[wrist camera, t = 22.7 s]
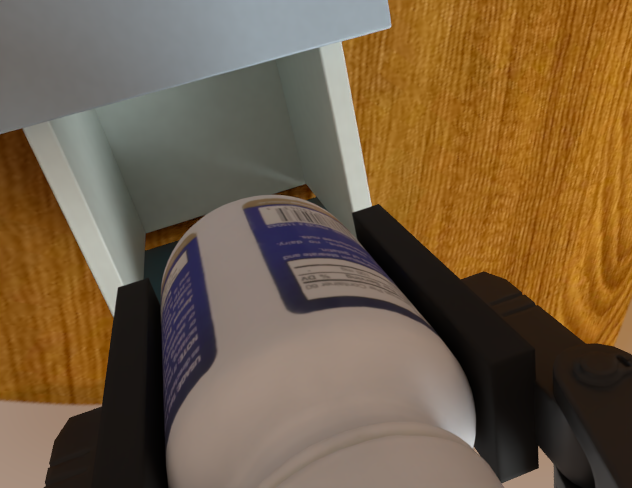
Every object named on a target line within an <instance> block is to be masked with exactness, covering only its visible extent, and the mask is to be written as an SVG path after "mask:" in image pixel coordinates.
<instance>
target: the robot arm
mask: <svg viewBox="0 0 632 488" xmlns="http://www.w3.org/2000/svg"><path fill="white" fill-rule="evenodd" d="M352 217H353V222H354V226H355V231H356V236H357V240H358V242H359V243H360V244H361V245H362V246H363V248H364V249H365V250H366V251H367V252H368V253H369V254H370V255H371V257H372V258H373V259H374V260H375V262H376V263H377V264H378V265H379V266H380V267H381V268H382V270H383V271H384V272H385V273H386V274H387V275H388V276H389V278H390V279H391V280H392V281H393V282H394V283H395V284H396V286H397V287H398V288H399V289H400V291H401V292H402V293H403V294H404V295H405V296H406V298H407V299H408V300H409V301H410V302H411V303H412V304H413V306H414V307H415V308H416V309H417V311H418V312H419V313H420V314H421V315H422V316H423V317H424V319H425V320H426V321H427V322H428V323H429V324H430V326H431V327H432V328H433V329H434V330H435V331H436V333H437V334H438V335H439V336H440V338H441V339H442V340H443V342H444V343H445V344H446V346H447V347H448V348H449V350H450V351H451V353H452V354H453V355H454V357H455V358H456V359H457V361H458V362H459V364H460V365H461V367H462V369H463V371H464V373H465V375H466V377H467V379H468V382H469V385H470V387H471V390H472V394H473V398H474V403H475V411H476V436H475V442H474V447H475V449H476V450H477V452H478V453H479V454H480V456H481V457H482V458H483V459H484V460H485V461H486V462H487V463H488V464H489V466H490V467H491V469H492V470H493V471H494V473H495V474H496V476H497V477H498V479H499V481H500V482H501V483H504V482H506V481H508V480H511V479H513V478H516V477H518V476H521V475H523V474H525V473H528V472H530V471H533V470H535V469H538V468H539V464H538V446H539V447H540V448H541V449H542V450H543V452H544V453H545V454H546V455H547V456H548V458H549V459H550V460H551V461H552V462H553V463H554V488H632V355H631V354H629V353H627V352H625V351H623V350H620V349H618V348H616V347H613V346H607V345H602V344H585V343H584V342H583V341H582V340H580V339H579V338H578V337H577V336H576V335H574V334H573V333H572V332H571V331H569V330H568V329H567V328H566V327H564V326H563V325H562V324H561V323H559V322H558V321H557V320H556V319H554V318H553V317H552V316H551V315H549V314H548V313H547V312H546V311H544V310H543V309H542V308H541V307H539V306H538V305H537V306H536V305H535V303H534V302H533V301H532V300H531V299H530V298H528V297H527V296H526V295H522V292H521V291H520V290H518V289H517V288H516V287H515V286H513V285H512V284H511V283H510V282H508V281H507V280H506V279H503V278H500V277H498V276H495V275H492V274H489V273H487V272H481V273H478V274H475V275H472V276H469V277H467V278H464V279H461V280H460V279H459V278H458V277H457V276H456V275H455V274H454V273H453V272H452V271H450V270H449V269H448V268H447V267H446V266H445V265H444V264H443V263H442V262H441V261H440V260H439V259H438V258H436V257H435V256H434V255H433V254H432V253H431V252H430V251H429V250H428V249H427V248H426V247H425V246H423V245H422V244H421V243H420V242H419V241H418V240H417V239H416V238H415V237H414V236H413V235H412V234H411V233H409V232H408V231H407V230H406V229H405V228H404V227H403V226H402V225H401V224H400V223H399V222H398V221H396V220H395V219H394V218H393V217H392V216H391V215H390V214H389V213H388V212H387V211H386V210H385V209H383V208H382V207H381V206H380V205H379V204H378V205H375V206H371V207H368V208H365V209H362V210H359V211H356V212H353V213H352ZM160 311H161V306H160V303H159V301H158V299H157V296H156V294H155V292H154V289H153V287H152V285H151V282H150V280H149V278H146V279H143V280H140V281H136V282H133V283H130V284H127V285H124V286H121V287H118V290H117V297H116V305H115V312H114V320H113V327H112V335H111V342H110V350H109V357H108V365H107V372H106V380H105V388H104V395H103V403H102V407H99V408H96V409H93V410H91V411H88V412H85V413H82V414H79V415H76V416H74V417H71V418H69V420H68V421H67V423H66V424H65V426H64V427H63V429H62V430H61V432H60V433H59V435H58V436H57V438H56V439H55V441H54V445H53V449H52V454H51V458H50V462H49V464H50V468H48V471H47V475H46V480H45V484H46V487H44V488H168V479H167V470H166V457H165V429H164V402H163V370H162V335H161V314H160Z"/></svg>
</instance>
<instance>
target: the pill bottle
mask: <svg viewBox="0 0 632 488" xmlns="http://www.w3.org/2000/svg"><path fill="white" fill-rule="evenodd" d="M160 314H161V335H162V370H163V402H164V429H165V457H166V470H167V479H168V488H504V487H503V485H502V484H501V482H500V481H499V479H498V477H497V476H496V474H495V473H494V471H493V470H492V469H491V467H490V466H489V464H488V463H487V462H486V461H485V460H484V459H483V458H482V457H481V456H479V455H478V454H477V453H476V452H475V451H474V450H473V447H474V442H475V436H476V411H475V403H474V398H473V394H472V390H471V387H470V385H469V382H468V379H467V377H466V375H465V373H464V371H463V369H462V367H461V365H460V364H459V362H458V361H457V359H456V358H455V357H454V355H453V354H452V353H451V351H450V350H449V348H448V347H447V346H446V344H445V343H444V342H443V340H442V339H441V338H440V336H439V335H438V334H437V333H436V331H435V330H434V329H433V328H432V327H431V326H430V324H429V323H428V322H427V321H426V320H425V319H424V317H423V316H422V315H421V314H420V313H419V312H418V311H417V309H416V308H415V307H414V306H413V304H412V303H411V302H410V301H409V300H408V299H407V298H406V296H405V295H404V294H403V293H402V292H401V291H400V289H399V288H398V287H397V286H396V284H395V283H394V282H393V281H392V280H391V279H390V278H389V276H388V275H387V274H386V273H385V272H384V271H383V270H382V268H381V267H380V266H379V265H378V264H377V263H376V262H375V260H374V259H373V258H372V257H371V255H370V254H369V253H368V252H367V251H366V250H365V249H364V248H363V246H362V245H361V244H360V243H359V242H358V240H357V239H356V238H355V237H354V236H353V235H352V234H351V233H350V231H349V230H348V229H347V228H346V227H345V226H344V225H343V224H342V223H341V222H340V221H339V220H338V219H337V218H336V217H334V216H333V215H332V214H330V213H329V212H328V211H326V210H325V209H323V208H321V207H319V206H318V205H316V204H313V203H311V202H309V201H306V200H303V199H300V198H296V197H291V196H285V195H259V196H253V197H248V198H244V199H240V200H237V201H234V202H231V203H228V204H226V205H223V206H221V207H219V208H217V209H215V210H213V211H211V212H210V213H208V214H207V215H205V216H204V217H203V218H201V219H200V220H199V221H197V222H196V223H195V224H194V225H193V226H192V227H191V228H190V229H189V230H188V231H187V232H186V233H185V234H184V235H183V237H182V238H181V239H180V241H179V242H178V243H177V245H176V247H175V248H174V250H173V252H172V253H171V256H170V258H169V260H168V262H167V265H166V267H165V270H164V274H163V278H162V284H161V311H160Z"/></svg>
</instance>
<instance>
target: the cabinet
mask: <svg viewBox="0 0 632 488" xmlns="http://www.w3.org/2000/svg"><path fill="white" fill-rule="evenodd" d="M390 27H391V20H390V13H389V6H388V0H0V134H3V133H7V132H10V131H14V130H18V129H21V128H25V127H29V126H32V125H36V124H40V123H43V122H47V121H51V120H54V119H58V118H62V117H65V116H69V115H73V114H76V113H80V112H84V111H87V110H91V109H95V108H98V107H102V106H106V105H109V104H113V103H117V102H120V101H124V100H128V99H131V98H135V97H139V96H143V95H146V94H150V93H154V92H157V91H161V90H165V89H168V88H172V87H176V86H179V85H183V84H187V83H190V82H194V81H198V80H201V79H205V78H209V77H212V76H216V75H220V74H223V73H227V72H231V71H234V70H238V69H242V68H245V67H249V66H253V65H256V64H260V63H264V62H267V61H271V60H275V59H278V58H282V57H286V56H289V55H293V54H297V53H301V52H304V51H308V50H312V49H315V48H319V47H323V46H326V45H330V44H334V43H337V42H341V41H345V40H348V39H352V38H356V37H359V36H363V35H367V34H370V33H374V32H378V31H381V30H385V29H389V28H390Z"/></svg>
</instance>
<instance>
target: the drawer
mask: <svg viewBox="0 0 632 488" xmlns="http://www.w3.org/2000/svg"><path fill="white" fill-rule="evenodd" d="M22 129H23V132H24V134H25V136H26V138H27V140H28V142H29V144H30V146H31V148H32V150H33V152H34V154H35V156H36V158H37V160H38V163H39V165H40V167H41V169H42V171H43V173H44V175H45V177H46V179H47V181H48V183H49V185H50V187H51V189H52V191H53V193H54V196H55V198H56V200H57V202H58V204H59V206H60V208H61V210H62V212H63V214H64V216H65V218H66V220H67V222H68V224H69V227H70V229H71V231H72V233H73V235H74V237H75V239H76V241H77V243H78V245H79V247H80V249H81V251H82V253H83V255H84V258H85V260H86V262H87V264H88V266H89V268H90V270H91V272H92V274H93V276H94V278H95V280H96V282H97V284H98V286H99V289H100V291H101V293H102V295H103V297H104V299H105V301H106V303H107V305H108V307H109V309H110V311H111V313H112V315H113V317H114V312H115V305H116V297H117V290H118V287H121V286H124V285H127V284H130V283H133V282H136V281H140V280H143V279H146V278H149V280H150V282H151V285H152V287H153V289H154V292H155V294H156V296H157V299H158V301H159V303H160V306H161V284H162V278H163V274H164V270H165V267H166V265H167V262H168V260H169V258H170V256H171V253H172V252H173V250H174V248H175V247H176V245H177V243H178V242H179V241H180V240H178V241H175V242H172V243H169V244H166V245H162V246H159V247H156V248H153V249H150V250H146V251H145V235H146V233H149V232H152V231H155V230H158V229H162V228H165V227H168V226H171V225H174V224H178V223H181V222H184V221H187V220H191V219H194V218H197V217H200V216H204V215H207V214H208V213H210V212H211V211H213V210H215V209H217V208H219V207H221V206H223V205H226V204H228V203H231V202H234V201H237V200H240V199H244V198H248V197H253V196H259V195H272V194H275V193H278V192H281V191H284V190H288V189H291V188H294V187H297V186H301V185H304V184H307V186H308V187H309V188H310V189H311V191H312V192H313V193H314V194H315V195H316V197H315V198H312V199H309V200H306V201H309V202H311V203H313V204H316V205H318V206H319V207H321V208H323V209H325V210H326V211H328V212H329V213H330V214H332V215H333V216H334V217H336V218H337V219H338V220H339V221H340V222H341V223H342V224H343V225H344V226H345V227H346V228H347V229H348V230H349V231H350V233H351V234H352V235H353V236H354V237H355V238H356V239H357V236H356V231H355V226H354V222H353V217H352V213H353V212H356V211H359V210H362V209H365V208H368V207H371V206H372V204H371V199H370V193H369V188H368V183H367V177H366V172H365V166H364V161H363V156H362V150H361V145H360V139H359V134H358V129H357V123H356V118H355V112H354V107H353V102H352V96H351V91H350V85H349V80H348V75H347V69H346V64H345V58H344V53H343V48H342V42H337V43H334V44H330V45H326V46H323V47H319V48H315V49H312V50H308V51H304V52H301V53H297V54H293V55H289V56H286V57H282V58H278V59H275V60H271V61H267V62H264V63H260V64H256V65H253V66H249V67H245V68H242V69H238V70H234V71H231V72H227V73H223V74H220V75H216V76H212V77H209V78H205V79H201V80H198V81H194V82H190V83H187V84H183V85H179V86H176V87H172V88H168V89H165V90H161V91H157V92H154V93H150V94H146V95H143V96H139V97H135V98H131V99H128V100H124V101H120V102H117V103H113V104H109V105H106V106H102V107H98V108H95V109H91V110H87V111H84V112H80V113H76V114H73V115H69V116H65V117H62V118H58V119H54V120H51V121H47V122H43V123H40V124H36V125H32V126H29V127H25V128H22Z"/></svg>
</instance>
